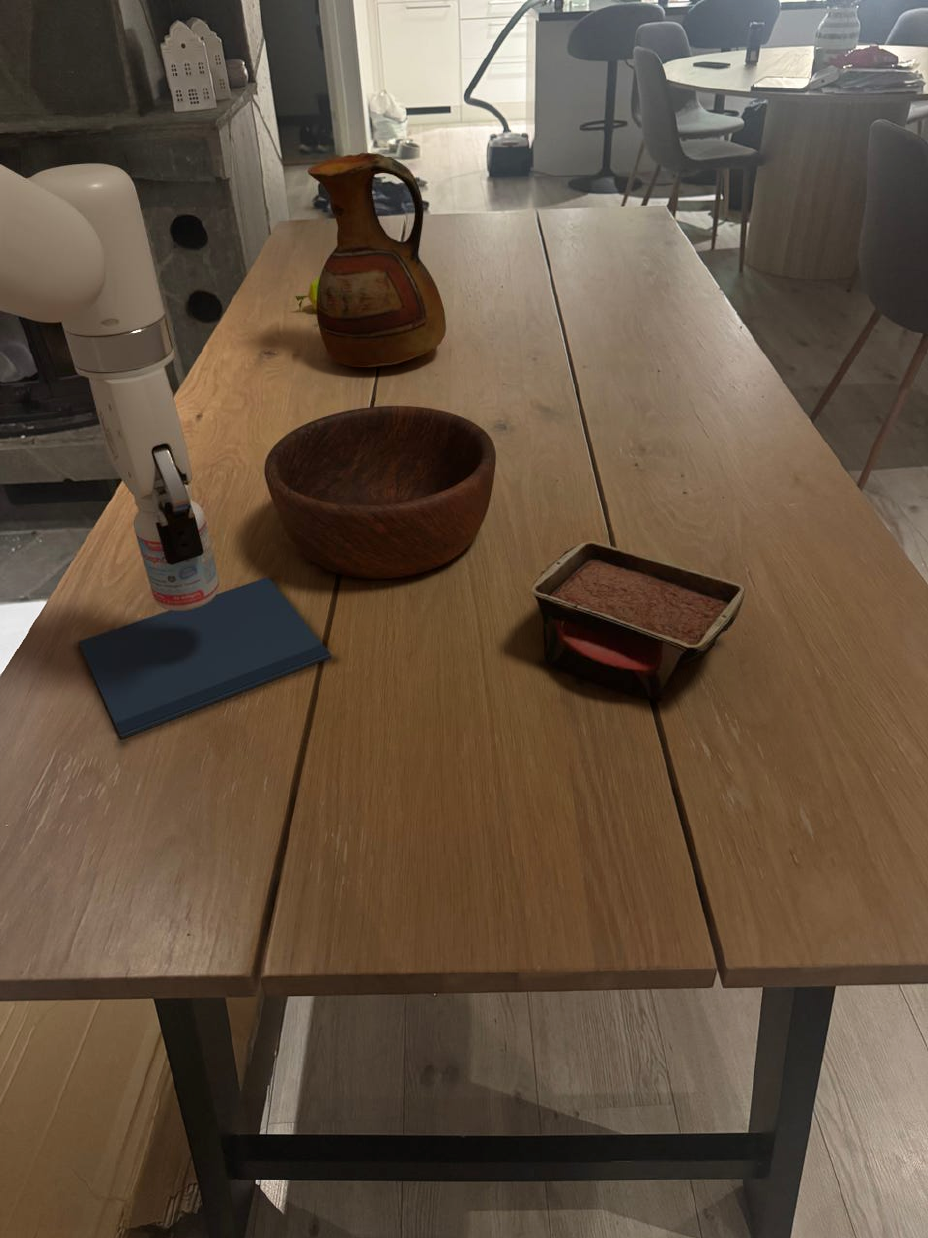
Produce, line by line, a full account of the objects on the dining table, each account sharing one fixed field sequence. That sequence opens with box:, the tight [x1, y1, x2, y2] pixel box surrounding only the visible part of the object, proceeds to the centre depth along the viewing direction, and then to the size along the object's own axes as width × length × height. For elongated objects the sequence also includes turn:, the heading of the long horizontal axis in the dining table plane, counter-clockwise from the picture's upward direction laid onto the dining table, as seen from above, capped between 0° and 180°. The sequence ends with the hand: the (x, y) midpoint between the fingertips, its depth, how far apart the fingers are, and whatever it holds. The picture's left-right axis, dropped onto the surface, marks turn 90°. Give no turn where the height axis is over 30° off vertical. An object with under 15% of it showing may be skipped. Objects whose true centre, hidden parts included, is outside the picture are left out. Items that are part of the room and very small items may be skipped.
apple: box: [294, 277, 320, 311], centre depth 168 cm, size 7×6×9 cm
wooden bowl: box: [263, 405, 497, 580], centre depth 103 cm, size 25×25×10 cm
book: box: [78, 576, 332, 740], centre depth 90 cm, size 20×16×1 cm
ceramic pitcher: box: [307, 152, 447, 368], centre depth 141 cm, size 20×20×30 cm
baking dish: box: [530, 541, 746, 703], centre depth 85 cm, size 14×18×10 cm
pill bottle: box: [133, 479, 220, 611], centre depth 82 cm, size 6×6×11 cm
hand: (173, 539), depth 82 cm, fingers closed on pill bottle, 6 cm apart
